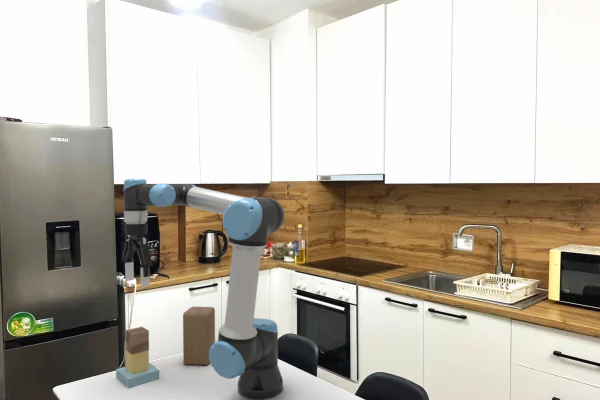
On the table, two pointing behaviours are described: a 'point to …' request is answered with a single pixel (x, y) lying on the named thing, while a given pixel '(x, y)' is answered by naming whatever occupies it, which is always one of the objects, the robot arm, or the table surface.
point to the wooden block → (198, 335)
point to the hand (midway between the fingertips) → (137, 283)
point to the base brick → (137, 376)
